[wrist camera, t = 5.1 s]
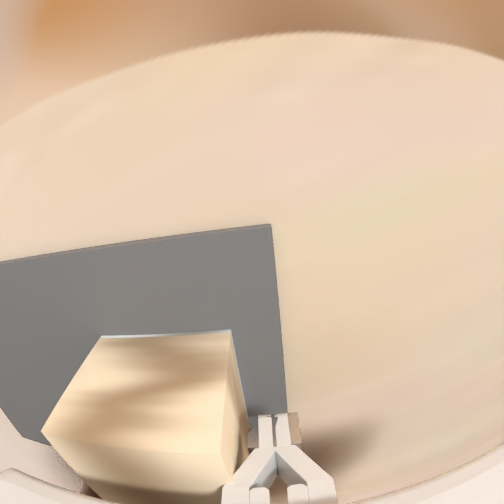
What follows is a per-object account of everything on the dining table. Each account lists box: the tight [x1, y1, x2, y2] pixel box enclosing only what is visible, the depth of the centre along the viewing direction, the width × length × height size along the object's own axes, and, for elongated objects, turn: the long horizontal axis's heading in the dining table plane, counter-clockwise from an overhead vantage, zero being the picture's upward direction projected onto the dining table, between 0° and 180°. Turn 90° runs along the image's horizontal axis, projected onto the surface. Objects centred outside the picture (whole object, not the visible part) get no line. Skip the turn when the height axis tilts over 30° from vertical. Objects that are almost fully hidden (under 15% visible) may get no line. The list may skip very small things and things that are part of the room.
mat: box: [0, 224, 287, 446], centre depth 14 cm, size 22×15×1 cm
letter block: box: [41, 329, 249, 504], centre depth 10 cm, size 6×6×6 cm
